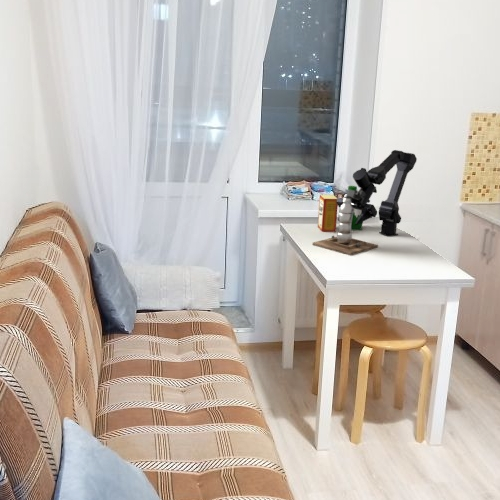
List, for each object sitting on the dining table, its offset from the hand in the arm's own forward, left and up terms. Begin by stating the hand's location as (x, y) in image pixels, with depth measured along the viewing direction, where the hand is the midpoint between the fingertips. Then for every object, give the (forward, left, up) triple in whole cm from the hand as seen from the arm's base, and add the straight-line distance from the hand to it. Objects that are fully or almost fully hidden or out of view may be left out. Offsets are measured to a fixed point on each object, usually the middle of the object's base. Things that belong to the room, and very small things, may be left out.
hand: (347, 222), depth 282 cm
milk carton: (-24, -25, -11) cm, 36 cm away
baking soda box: (-10, -27, -11) cm, 31 cm away
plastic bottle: (0, -1, -10) cm, 10 cm away
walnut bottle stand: (0, 0, -10) cm, 10 cm away
